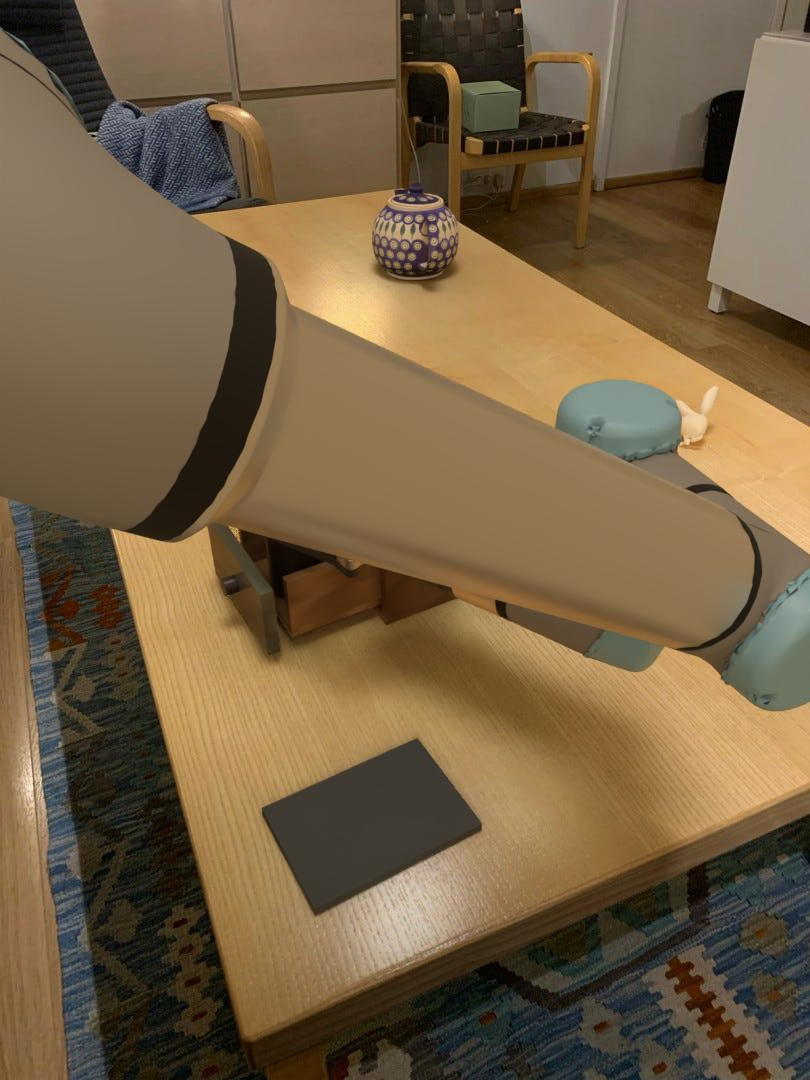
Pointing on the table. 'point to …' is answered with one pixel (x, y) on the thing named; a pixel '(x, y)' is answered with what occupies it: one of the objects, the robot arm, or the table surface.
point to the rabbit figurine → (696, 417)
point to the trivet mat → (368, 824)
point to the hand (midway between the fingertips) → (246, 459)
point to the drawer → (286, 588)
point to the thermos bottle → (285, 563)
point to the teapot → (415, 235)
